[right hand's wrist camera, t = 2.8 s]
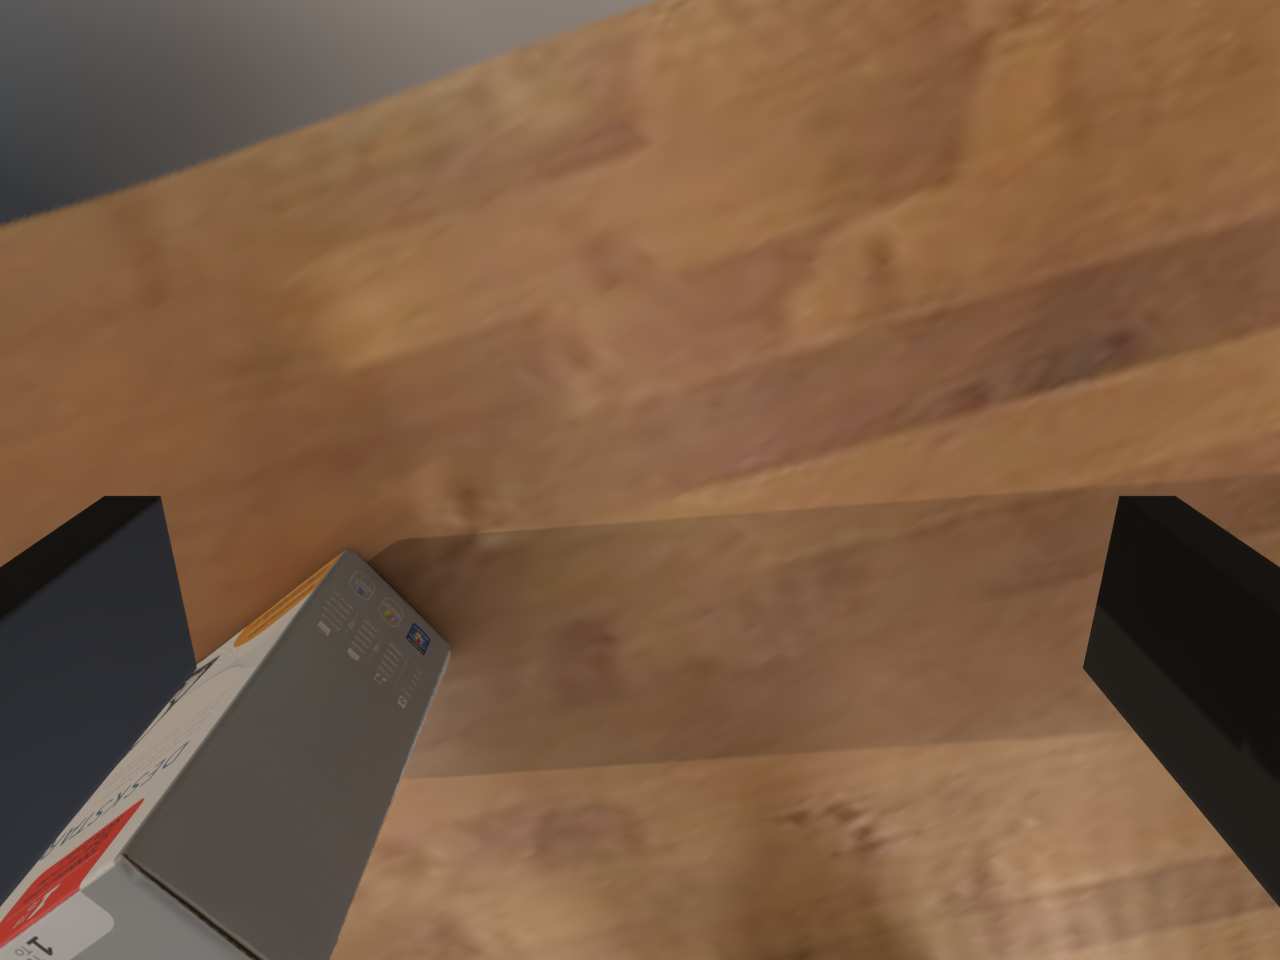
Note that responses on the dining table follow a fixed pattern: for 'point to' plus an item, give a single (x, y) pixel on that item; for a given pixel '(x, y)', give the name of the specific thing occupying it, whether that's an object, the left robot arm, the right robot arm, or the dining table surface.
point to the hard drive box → (246, 791)
